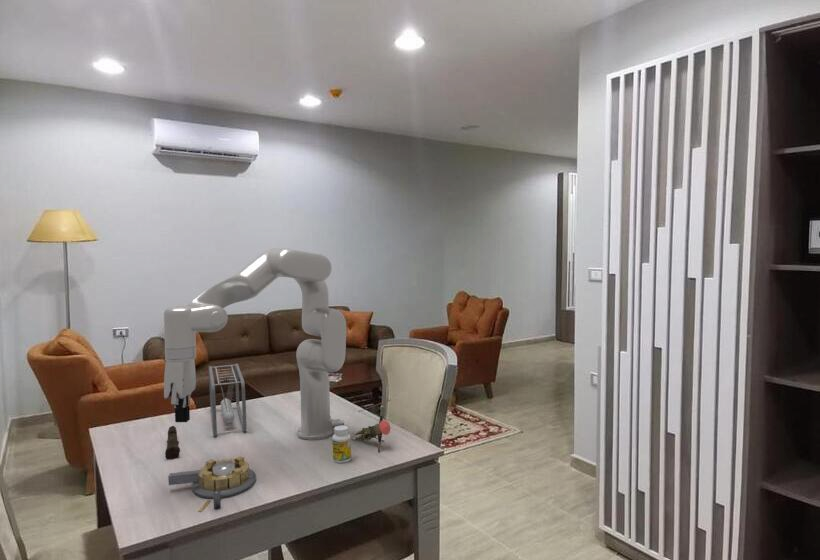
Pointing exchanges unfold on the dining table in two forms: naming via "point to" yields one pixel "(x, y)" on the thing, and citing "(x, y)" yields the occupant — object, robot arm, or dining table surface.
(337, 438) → the supplement bottle
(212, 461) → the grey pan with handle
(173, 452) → the hand tool
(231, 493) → the housing
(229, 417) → the newton's cradle
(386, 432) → the green toy propeller plane
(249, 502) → the dining table surface
